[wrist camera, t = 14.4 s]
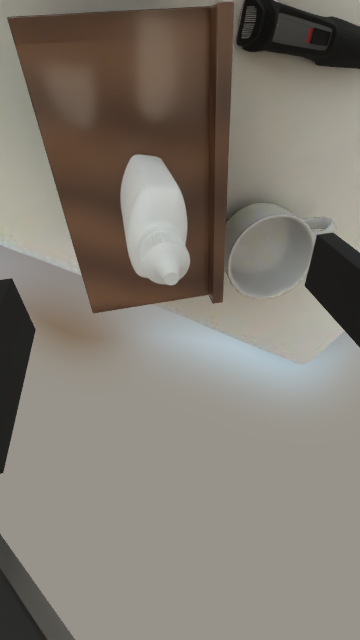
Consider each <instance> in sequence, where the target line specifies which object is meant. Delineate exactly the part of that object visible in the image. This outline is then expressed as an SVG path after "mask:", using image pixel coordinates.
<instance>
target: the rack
mask: <svg viewBox="0 0 360 640" xmlns="http://www.w3.org/2000/svg"><path fill="white" fill-rule="evenodd" d="M7 19H8V22H9V26H10V29H11V33H12V36H13V40H14V43H15V46H16V50H17V53H18V57H19V60H20V64H21V67H22V70H23V74H24V77H25V81H26V84H27V88H28V91H29V95H30V98H31V101H32V105H33V108H34V112H35V115H36V119H37V122H38V126H39V129H40V132H41V136H42V139H43V143H44V146H45V150H46V153H47V157H48V160H49V164H50V167H51V170H52V174H53V177H54V181H55V184H56V188H57V191H58V195H59V198H60V201H61V205H62V208H63V212H64V215H65V219H66V222H67V226H68V229H69V232H70V236H71V239H72V243H73V246H74V250H75V253H76V257H77V260H78V263H79V267H80V270H81V274H82V277H83V281H84V284H85V288H86V291H87V294H88V298H89V301H90V305H91V308H92V312H93V313H98V312H104V311H111V310H117V309H123V308H129V307H136V306H142V305H147V304H154V303H161V302H167V301H173V300H179V299H185V298H192V297H198V296H204V295H209V297H210V299H211V301H212V303H213V304H214V303H220V302H223V283H224V257H225V231H226V206H227V180H228V154H229V129H230V103H231V77H232V52H233V26H234V2H222V3H216V4H214V5H212V6H203V7H184V8H166V9H147V10H128V11H109V12H91V13H72V14H53V15H34V16H16V17H7ZM137 154H140V155H149V156H156V157H159V158H161V159H162V161H163V162H164V164H165V165H166V167H167V169H168V170H169V172H170V173H171V175H172V177H173V178H174V180H175V182H176V183H177V185H178V187H179V189H180V190H181V193H182V196H183V199H184V203H185V207H186V214H187V238H186V243H185V246H186V248H187V250H188V252H189V256H190V265H189V269H188V271H187V273H186V274H185V275H184V276H183V277H182V278H181V279H180V280H179V281H178V282H177V283H176V284H175V285H167V284H159V283H155V282H153V281H151V280H150V279H149V278H144V277H141V276H139V275H138V274H137V273H136V272H135V270H134V268H133V266H132V264H131V261H130V258H129V254H128V249H127V243H126V237H125V231H124V224H123V218H122V211H121V202H120V193H121V184H122V179H123V175H124V172H125V169H126V167H127V164H128V162H129V160H130V159H131V158H132V157H133V156H134V155H137Z"/></svg>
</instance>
